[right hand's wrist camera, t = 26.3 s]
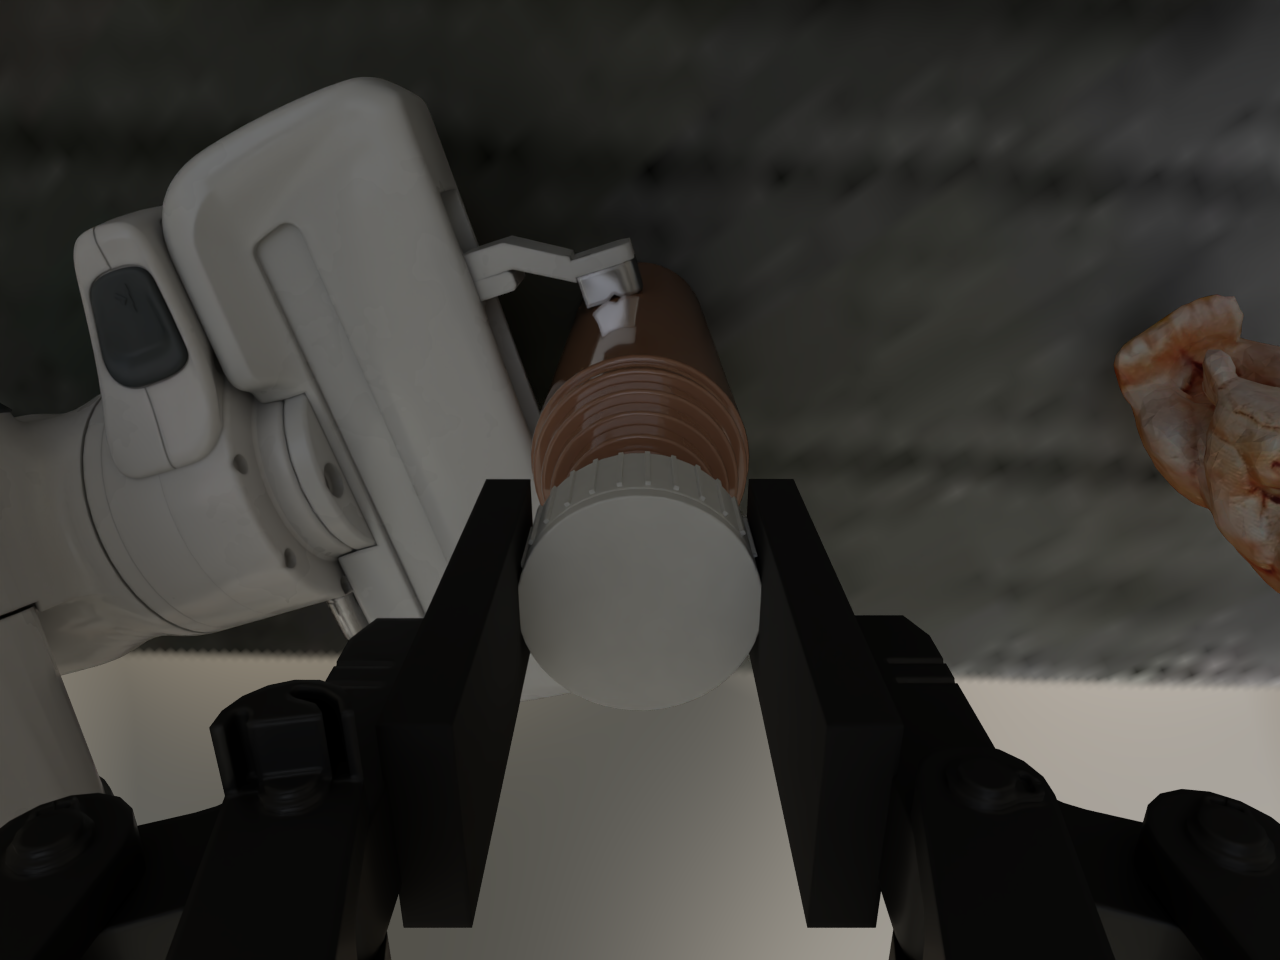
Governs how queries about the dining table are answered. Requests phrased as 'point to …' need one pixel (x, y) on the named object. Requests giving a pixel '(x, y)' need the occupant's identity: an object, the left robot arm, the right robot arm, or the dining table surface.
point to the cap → (639, 583)
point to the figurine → (1212, 420)
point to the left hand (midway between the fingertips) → (666, 358)
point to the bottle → (641, 389)
